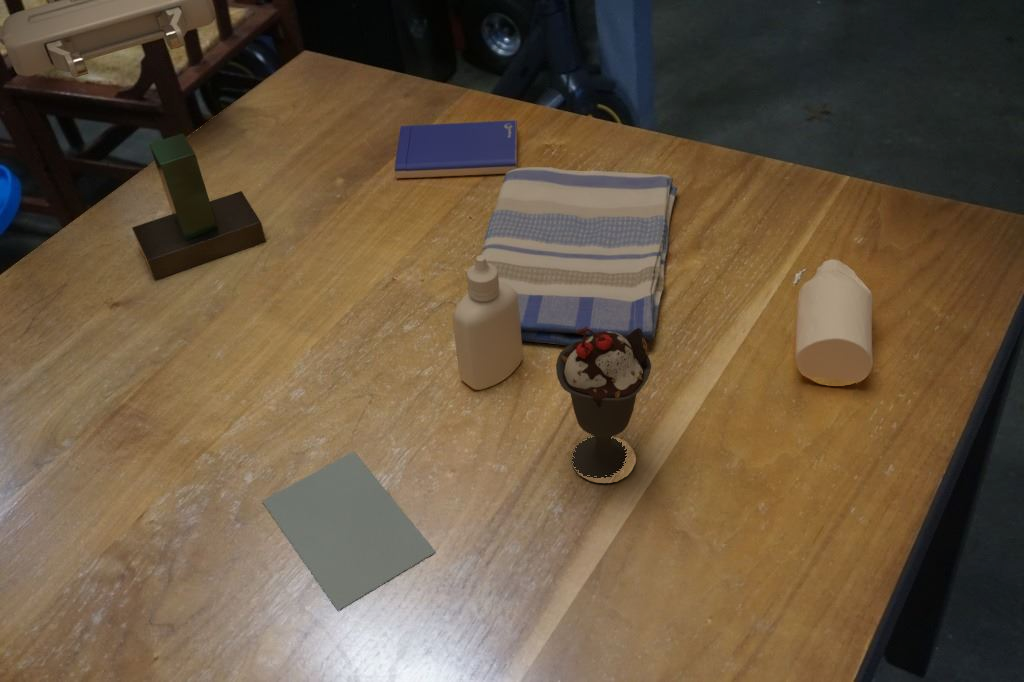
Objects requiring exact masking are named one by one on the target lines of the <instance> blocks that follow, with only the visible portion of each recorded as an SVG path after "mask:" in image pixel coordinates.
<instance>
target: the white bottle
mask: <svg viewBox="0 0 1024 682" xmlns="http://www.w3.org/2000/svg"><path fill="white" fill-rule="evenodd" d="M815 271H816V272H815V275H814V276H813V277H812V278H811V279H809V280H808V281H806V282H804V283H803V284H802V286H801V288H800V289H799V292H798V295H797V306H796V320H795V348H794V349H795V350H794V351H795V353H794V363H795V366H796V368H797V370H798V371H799V373H800V374H801V376H803V377H804V376H810V377H822V378H826V379H838V380H839V379H840V380H844V381H856V382H859V383H861V382H862V381H863V380H865V379H866V378H867V377H868V376H869V375H871V372H872V369H873V366H874V362H873V360H874V356H873V331H872V330H873V311H874V310H873V305H874V304H873V303H874V302H873V301H874V300H873V294H872V291H871V290H870V289H869V288H868V287H867V285H866V284H865V283H864V282H863V281H862V280H861V278H860V277H859V276H857V273H856V272H855V270H853V269H851V268H850V267H849V266H848V265H847V264H844V263H843V262H842V261H840V260H839V259H835V258H834V259H831V258H830V259H829V260H825V261H823V262H822V263H821V265H819V266H818V267H817V268H816V270H815Z"/></svg>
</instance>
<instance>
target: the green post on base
mask: <svg viewBox="0 0 1024 682" xmlns="http://www.w3.org/2000/svg"><path fill="white" fill-rule="evenodd" d="M149 148H150V151H151V154H152V157H153V160H154V163H155V166H156V169H157V172H158V175H159V178H160V181H161V183H162V187H163V189H164V193H165V195H166V198H167V202H168V204H169V208H170V210H171V214H168V215H165V216H161V217H159V218H155V219H154V220H153V219H152V220H150V221H147V222H144V223H141V224H138V225H135V226H133V227H131V229H132V232H133V234H134V238H135V240H136V242H137V245H138V248H139V250H140V252H141V254H142V256H143V258H144V261H145V262H146V265H147V267H148V269H149V271H150V273H151V276H152V277H153V278H152V279H153V280H154V281H157V280H160V279H163V278H165V277H169V276H171V275H174V274H177V273H179V272H183V271H186V270H188V269H192V268H195V267H197V266H200V265H203V264H206V263H209V262H212V261H214V260H217V259H220V258H223V257H226V256H229V255H231V254H235V253H237V252H241V251H243V250H245V249H249V248H251V247H254V246H257V245H259V244H260V245H261V244H262V243H265V242H267V240H266V236H265V233H264V229H263V224H262V221H261V220H260V219H259V217H258V214H257V213H256V212H255V210H254V208H253V207H252V205H251V203H250V202H249V200H248V199H247V197H246V196H245V194H244V192H243V191H242V190H240V191H237V192H234V193H231V194H228V195H225V196H222V197H219V198H216V199H213V200H210V198H209V194H208V191H207V189H206V188H207V187H206V184H205V181H204V177H203V175H202V171H201V168H200V165H199V161H198V158H197V155H196V153H195V151H194V149H193V148H192V146H191V143H190V142H189V141H188V139H187V137H186V136H185V133H179V134H177V135H173V136H170V137H166V138H164V139H160V140H157V141H153V142H151V143H149Z"/></svg>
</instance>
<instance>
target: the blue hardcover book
mask: <svg viewBox="0 0 1024 682" xmlns="http://www.w3.org/2000/svg"><path fill="white" fill-rule="evenodd" d="M517 168H518V120H516V119H515V120H493V121H490V120H489V121H476V122H475V121H473V122H453V123H452V122H450V123H434V124H433V123H432V124H430V123H429V124H415V125H413V124H412V125H401V126H400V130H399V136H398V142H397V149H396V155H395V162H394V174H395V178H396V179H405V178H406V179H410V178H411V179H412V178H414V179H415V178H434V177H435V178H436V177H437V178H438V177H457V176H458V177H459V176H479V175H503V174H505V175H506V173H507V172H509V171H511V170H513V169H517Z"/></svg>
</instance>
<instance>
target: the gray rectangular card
mask: <svg viewBox="0 0 1024 682" xmlns="http://www.w3.org/2000/svg"><path fill="white" fill-rule="evenodd" d="M261 503H262V504H263V505H264V507H265V508H266V510H267V511H268V513H269V514H270V515H271V518H273V520H274V521H275V523H276V524H277V526H278V527H279V528H280V531H282V533H283V534H284V536H285V537H286V539H287V540H288V541H289V543H290V544H291V546H292V547H293V549H294V550H295V551H296V553H297V555H298V556H299V557H300V559H301V560H302V561H303V563H304V565H305V566H306V567H307V569H308V571H309V572H310V573H311V575H312V576H313V577H314V579H315V580H316V582H317V583H318V585H319V587H321V589H322V591H323V592H324V593H325V595H326V597H327V598H328V599H329V601H330V602H331V603H332V605H333V607H334V608H335V609H336V611H337V612H339V611H340V610H342V609H344V608H345V607H347V606H349V605H351V604H353V603H354V602H356V601H357V600H359V599H361V598H362V597H364V596H366V595H367V594H369V593H371V592H373V591H374V590H375V589H377V588H379V587H380V586H382V585H384V584H386V583H387V582H390V581H391V580H393V579H394V578H396V577H397V576H400V574H402V573H404V572H406V571H407V570H409V569H411V568H412V567H414V566H415V565H417V564H419V563H421V562H422V561H424V560H426V559H427V558H429V557H431V556H433V555H434V554H436V550H435V549H434V548H433V546H432V545H431V544H430V543H429V541H428V540H427V539H426V538H425V537H424V535H423V534H422V532H420V530H419V529H418V528H417V526H415V524H414V523H413V522H412V521H411V520H410V518H409V517H408V515H406V513H405V512H404V511H403V510H402V508H401V507H400V505H399V504H397V502H396V501H395V500H394V498H393V497H392V496H391V495H390V493H389V492H388V491H387V490H386V489H385V487H384V486H383V485H382V484H381V482H380V481H379V480H378V478H377V477H376V476H375V475H374V474H373V472H372V471H371V470H370V469H369V468H368V466H367V465H366V464H365V463H364V462H363V460H362V459H361V458H360V457H359V455H358V454H357V453H356V452H355V450H354V451H352V452H349V453H348V454H346V455H344V456H342V457H341V458H339V459H336V460H335V461H333V462H331V463H329V464H327V465H325V466H324V467H322V468H320V469H318V470H316V471H314V472H312V473H311V474H309V475H307V476H305V477H304V478H301V479H300V480H298V481H296V482H294V483H292V484H290V485H289V486H286V487H285V488H283V489H281V490H278V491H277V492H275V493H274V494H271V495H270V496H268V497H266V498H264V499H262V500H261Z"/></svg>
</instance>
